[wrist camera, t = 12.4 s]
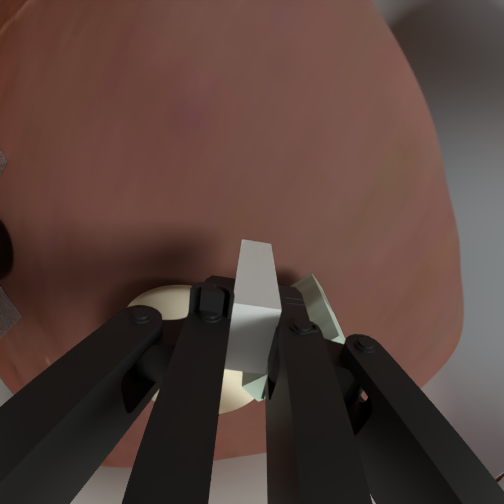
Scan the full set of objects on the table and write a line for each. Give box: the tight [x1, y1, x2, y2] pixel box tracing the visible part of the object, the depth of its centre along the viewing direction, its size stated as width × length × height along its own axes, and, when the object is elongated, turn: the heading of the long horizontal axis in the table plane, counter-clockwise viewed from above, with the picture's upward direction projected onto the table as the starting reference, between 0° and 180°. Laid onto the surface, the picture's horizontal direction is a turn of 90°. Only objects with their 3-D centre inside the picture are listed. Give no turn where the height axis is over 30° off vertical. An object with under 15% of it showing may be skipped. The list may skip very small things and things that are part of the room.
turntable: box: [127, 273, 345, 414], centre depth 17 cm, size 17×12×7 cm
